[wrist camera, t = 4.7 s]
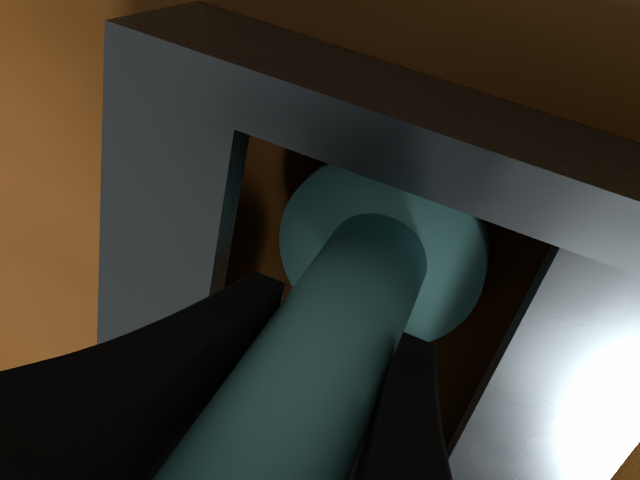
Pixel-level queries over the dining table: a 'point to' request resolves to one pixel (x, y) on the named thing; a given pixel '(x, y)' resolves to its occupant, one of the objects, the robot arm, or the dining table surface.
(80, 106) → the dining table surface
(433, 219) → the peg
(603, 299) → the keyhole plate
